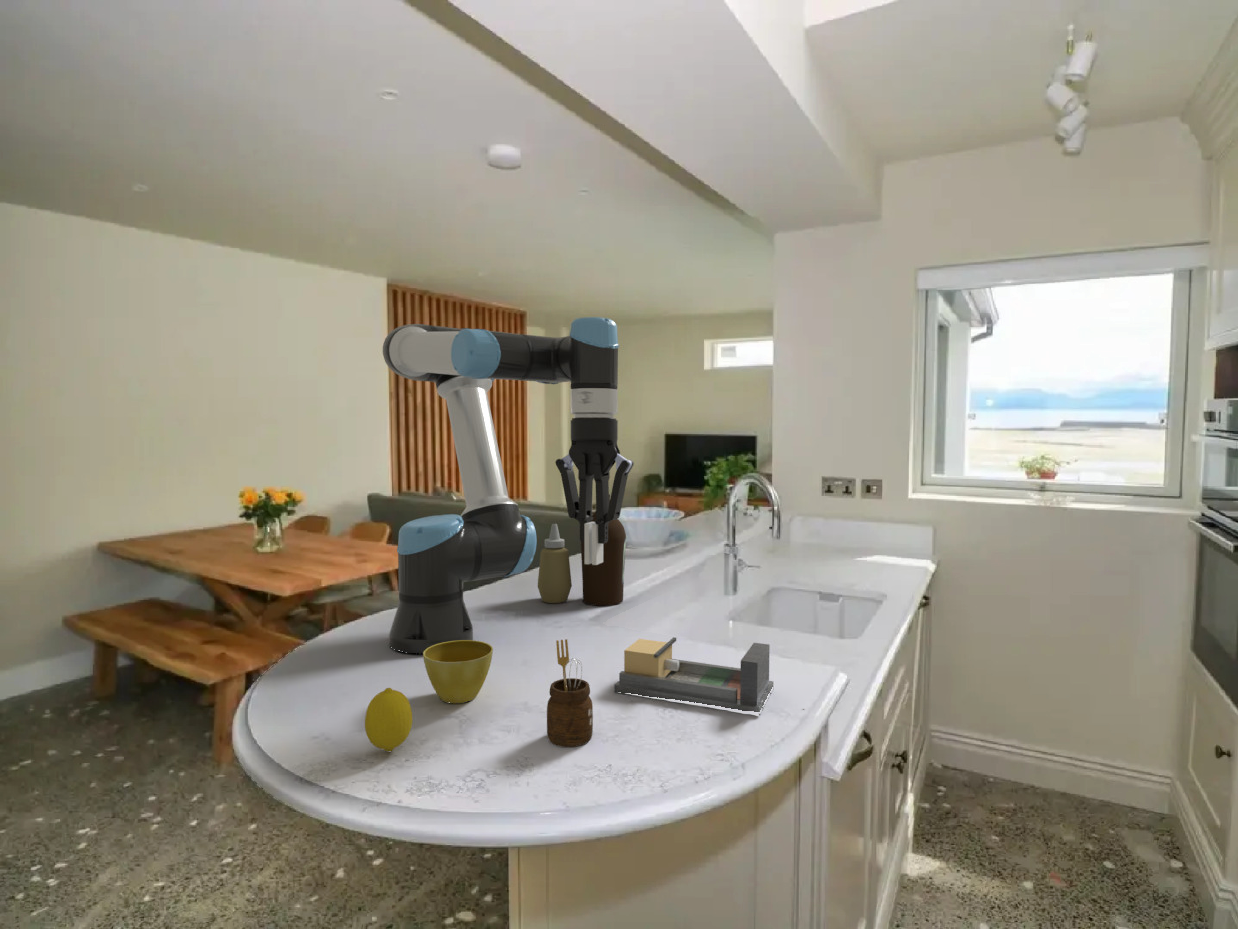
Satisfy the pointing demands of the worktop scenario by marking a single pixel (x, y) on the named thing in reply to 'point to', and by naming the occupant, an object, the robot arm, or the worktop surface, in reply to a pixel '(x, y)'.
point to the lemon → (388, 719)
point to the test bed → (709, 682)
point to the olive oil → (606, 569)
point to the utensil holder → (569, 707)
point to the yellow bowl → (458, 668)
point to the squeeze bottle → (554, 569)
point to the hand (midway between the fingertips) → (593, 562)
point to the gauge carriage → (650, 658)
